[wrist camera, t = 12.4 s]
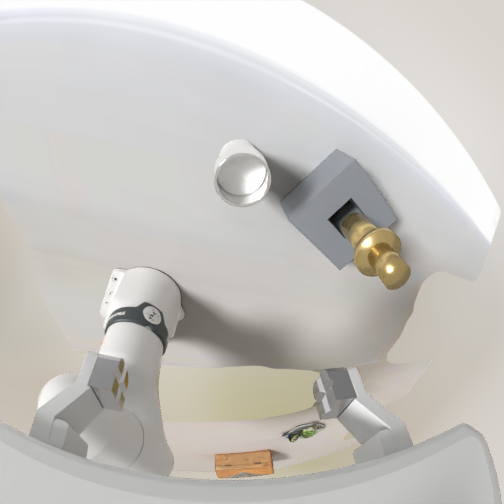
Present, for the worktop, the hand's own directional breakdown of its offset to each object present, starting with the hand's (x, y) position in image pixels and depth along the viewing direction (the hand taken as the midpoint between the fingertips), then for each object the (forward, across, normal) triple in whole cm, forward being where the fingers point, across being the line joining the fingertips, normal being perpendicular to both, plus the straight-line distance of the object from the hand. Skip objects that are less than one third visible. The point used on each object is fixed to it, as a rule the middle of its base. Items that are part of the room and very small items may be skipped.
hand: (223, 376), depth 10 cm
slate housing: (+39, -20, +4) cm, 44 cm away
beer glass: (+39, -2, -1) cm, 39 cm away
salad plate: (+40, -45, +108) cm, 123 cm away
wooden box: (+40, -23, +147) cm, 154 cm away
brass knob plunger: (+29, -20, +4) cm, 36 cm away
